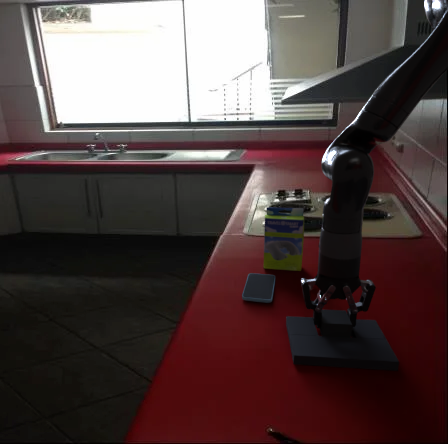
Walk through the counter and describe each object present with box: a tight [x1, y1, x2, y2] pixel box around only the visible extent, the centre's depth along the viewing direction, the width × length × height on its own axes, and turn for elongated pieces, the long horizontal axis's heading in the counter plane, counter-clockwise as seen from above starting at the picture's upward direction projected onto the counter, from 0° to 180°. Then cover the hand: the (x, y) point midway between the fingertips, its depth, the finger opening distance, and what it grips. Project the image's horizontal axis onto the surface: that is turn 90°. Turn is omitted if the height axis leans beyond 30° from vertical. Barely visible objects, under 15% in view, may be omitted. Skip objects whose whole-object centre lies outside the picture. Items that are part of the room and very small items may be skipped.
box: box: [262, 206, 305, 272], centre depth 116 cm, size 10×4×17 cm, turn 73°
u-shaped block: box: [285, 315, 400, 372], centre depth 83 cm, size 18×14×2 cm
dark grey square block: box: [318, 308, 352, 338], centre depth 85 cm, size 6×6×3 cm
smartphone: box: [241, 272, 276, 304], centre depth 107 cm, size 7×1×15 cm
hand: (333, 326), depth 86 cm, fingers closed on dark grey square block, 5 cm apart
